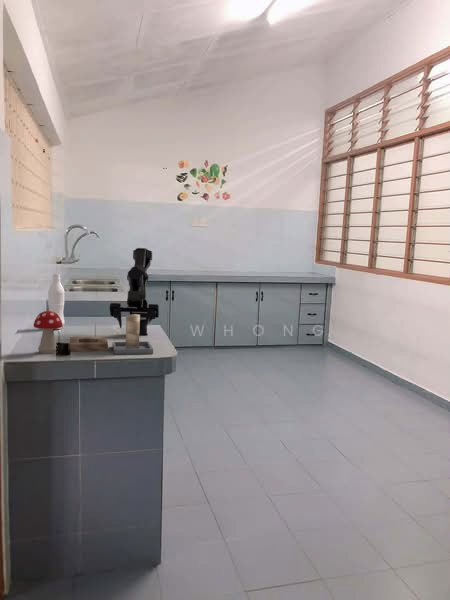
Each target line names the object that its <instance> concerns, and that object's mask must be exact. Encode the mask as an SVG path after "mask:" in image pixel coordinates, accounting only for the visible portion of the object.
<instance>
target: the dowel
mask: <svg viewBox="0 0 450 600" xmlns="http://www.w3.org/2000/svg"><path fill="white" fill-rule="evenodd" d="M125 318H126V321H125V342H126V349H139V342H140V335H139V330H140V315H137V314H130V313H127V314H126V316H125Z"/></svg>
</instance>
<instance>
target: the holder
mask: <svg viewBox="0 0 450 600" xmlns="http://www.w3.org/2000/svg"><path fill="white" fill-rule="evenodd" d="M69 344H70V350H71V351H70V352H99V351H101V352H103V351H104V352H107V351H108V350H109V342H108V338H107V336H86V337H85V336H84V337H83V336H80V337H79V336H78V337H77V336H73V337H72V336H71V337H69V340H68V345H69Z"/></svg>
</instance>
